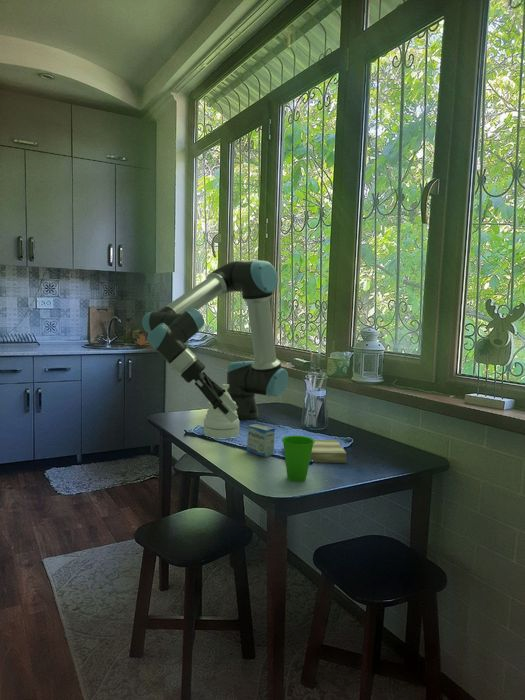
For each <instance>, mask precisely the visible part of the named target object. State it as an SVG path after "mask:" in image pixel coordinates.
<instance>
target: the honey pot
mask: <svg viewBox="0 0 525 700" xmlns="http://www.w3.org/2000/svg"><path fill="white" fill-rule="evenodd" d="M221 388H222V389H225V390H226V392H225V394H226V395H227V396H228V397H229V398H230V399H231V400H232V398H231V396H230V394H229V393H228V392H227V389H228V388H229V384H227V383H222V386H221ZM223 394H224V393H223ZM219 398H220V397H219ZM232 401H233V400H232ZM233 402H234V403H235V404H236V402H235V401H233ZM207 403H208V406H209V407H208V409H207V410H206V414H205V417H204V419H203V435H204V434H205V435H207V436H209V437H214V438H231V437H236V436H238V435H239V436H240V421H241V420H239V419H238V418H237V419H236V420H235V421H234V422H233V423H231V422H230V421H229V420H228V419H227V418H226V417H225V416H224V415H223V414H222V413H221V412H220V411H219V410H218V409H217V408H216V409H214V408H213V405H212V404H211V403H210V401H209V400H208V401H207ZM234 413H235V414H236V415H237V411H236V410H235V411H234ZM237 416H238V415H237ZM239 436H238V437H239ZM236 438H237V437H236Z"/></svg>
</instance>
